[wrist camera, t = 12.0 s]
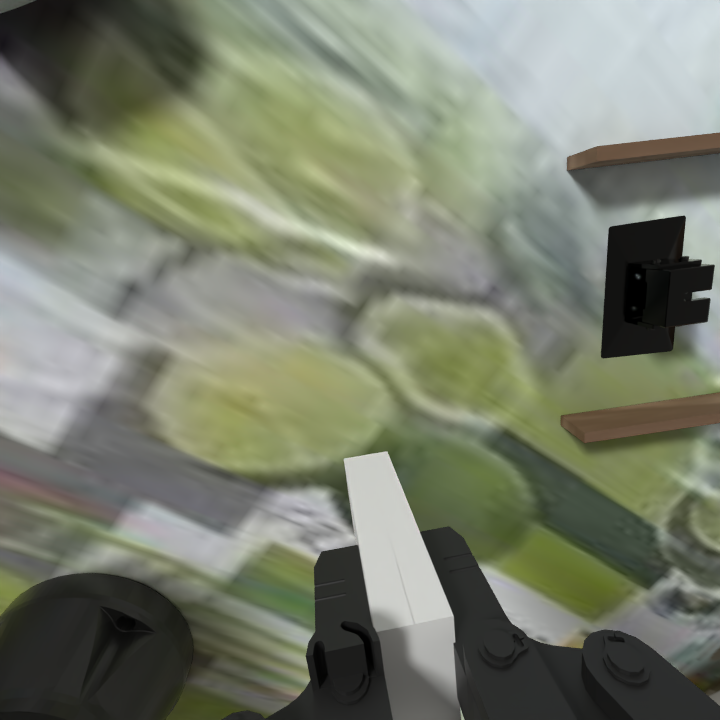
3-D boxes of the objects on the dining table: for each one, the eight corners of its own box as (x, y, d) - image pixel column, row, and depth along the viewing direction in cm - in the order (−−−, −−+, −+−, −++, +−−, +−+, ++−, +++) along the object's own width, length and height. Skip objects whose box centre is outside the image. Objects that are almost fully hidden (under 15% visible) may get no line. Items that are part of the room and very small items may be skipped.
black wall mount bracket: (672, 363, 32) (728, 383, 27) (581, 375, 31) (623, 398, 27) (691, 192, 28) (760, 184, 24) (589, 204, 28) (640, 198, 23)
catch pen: (788, 391, 33) (833, 405, 30) (560, 425, 32) (584, 443, 29) (838, 126, 27) (899, 112, 24) (567, 157, 26) (597, 146, 23)
